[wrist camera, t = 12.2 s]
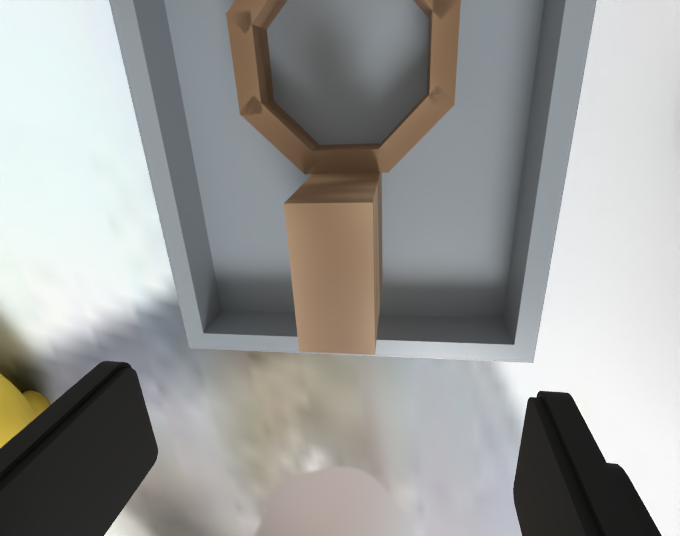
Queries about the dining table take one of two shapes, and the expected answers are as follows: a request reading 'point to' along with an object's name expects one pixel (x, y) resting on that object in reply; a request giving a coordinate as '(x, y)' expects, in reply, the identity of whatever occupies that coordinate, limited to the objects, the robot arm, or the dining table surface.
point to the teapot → (17, 409)
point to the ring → (337, 181)
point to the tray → (363, 128)
